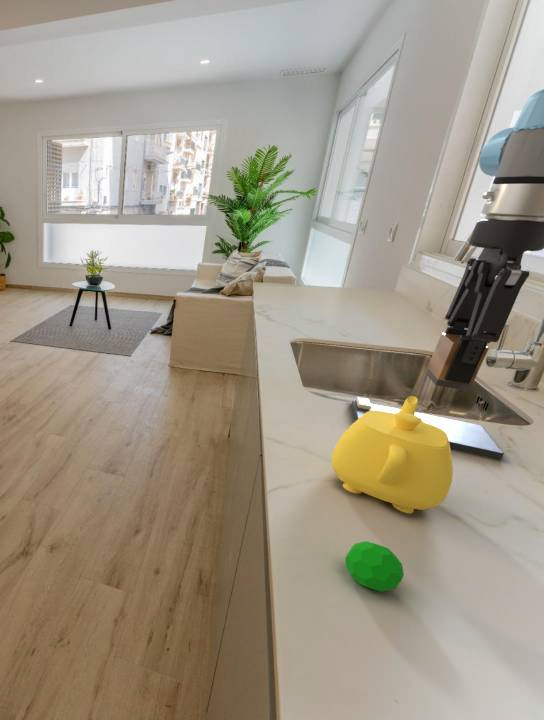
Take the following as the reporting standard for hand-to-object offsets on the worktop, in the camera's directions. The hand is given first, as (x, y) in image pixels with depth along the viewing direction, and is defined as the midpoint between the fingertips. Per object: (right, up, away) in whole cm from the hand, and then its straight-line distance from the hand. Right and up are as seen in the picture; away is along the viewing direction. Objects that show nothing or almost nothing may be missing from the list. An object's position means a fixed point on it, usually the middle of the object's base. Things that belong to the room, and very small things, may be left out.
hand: (449, 373), depth 67 cm
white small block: (+7, -10, +12) cm, 17 cm away
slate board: (+7, -11, +13) cm, 18 cm away
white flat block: (+1, -7, +19) cm, 20 cm away
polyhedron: (-28, -23, -19) cm, 41 cm away
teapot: (-14, -17, -3) cm, 22 cm away
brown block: (0, -1, +1) cm, 1 cm away
